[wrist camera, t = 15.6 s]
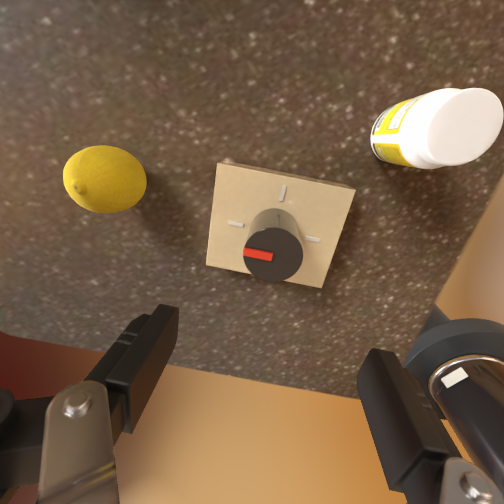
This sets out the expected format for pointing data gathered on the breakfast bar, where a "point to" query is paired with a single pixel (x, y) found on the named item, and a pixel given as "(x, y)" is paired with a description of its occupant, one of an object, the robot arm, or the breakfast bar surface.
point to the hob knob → (273, 246)
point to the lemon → (104, 179)
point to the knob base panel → (282, 197)
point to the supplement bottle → (438, 128)
